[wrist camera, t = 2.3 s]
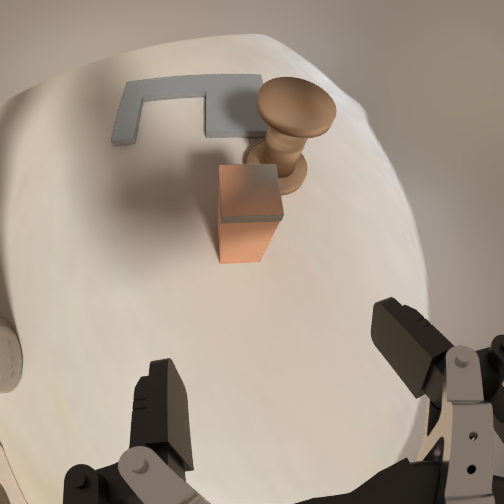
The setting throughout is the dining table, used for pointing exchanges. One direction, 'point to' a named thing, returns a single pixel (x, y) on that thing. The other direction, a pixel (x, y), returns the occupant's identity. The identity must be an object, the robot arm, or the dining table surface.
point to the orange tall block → (247, 210)
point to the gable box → (8, 483)
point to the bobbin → (290, 126)
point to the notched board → (209, 85)
